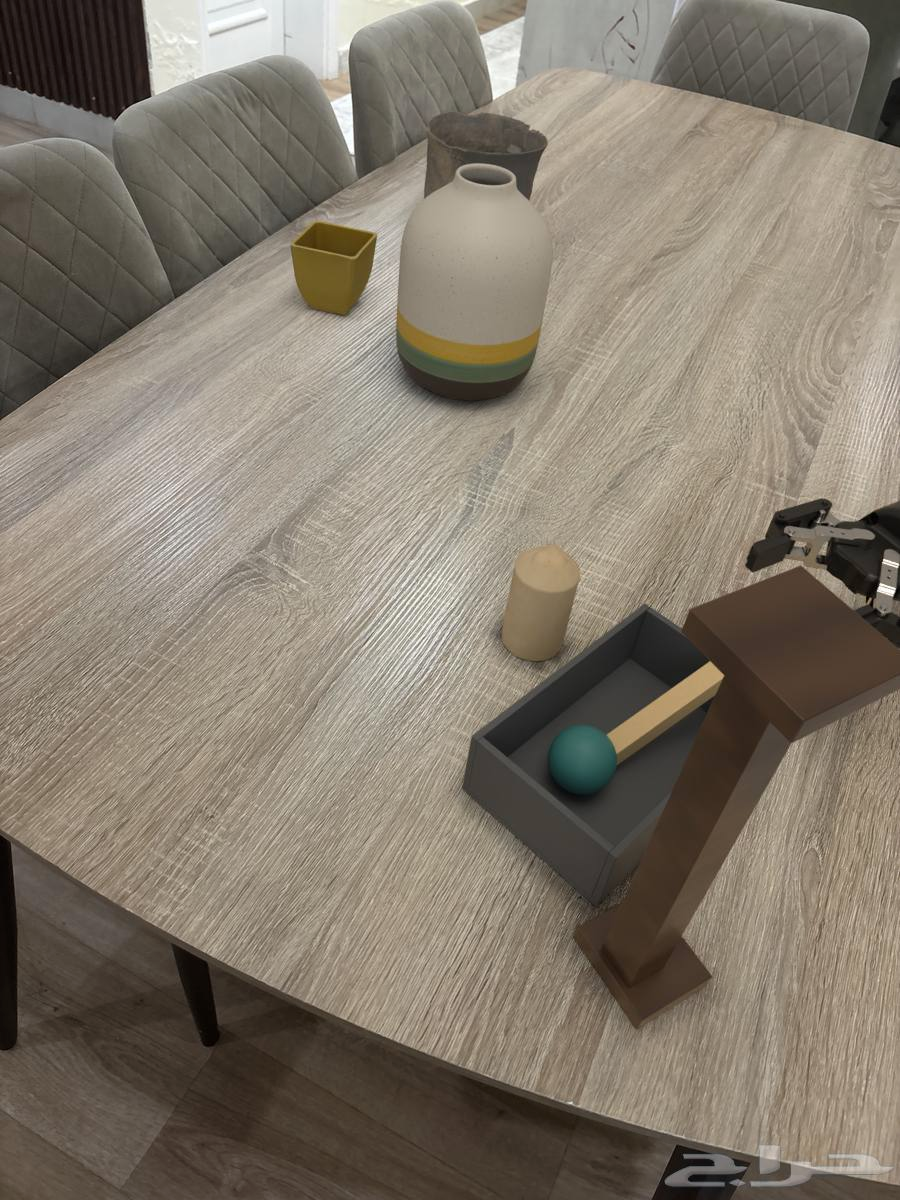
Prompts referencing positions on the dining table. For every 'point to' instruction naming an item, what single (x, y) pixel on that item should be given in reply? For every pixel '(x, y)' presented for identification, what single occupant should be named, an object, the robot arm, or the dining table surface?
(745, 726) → the stand
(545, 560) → the candle
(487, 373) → the vase
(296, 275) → the flower pot
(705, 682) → the rattle
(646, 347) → the dining table surface
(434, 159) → the dark brown chipped pot
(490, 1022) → the dining table surface
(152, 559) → the dining table surface
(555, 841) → the bin
